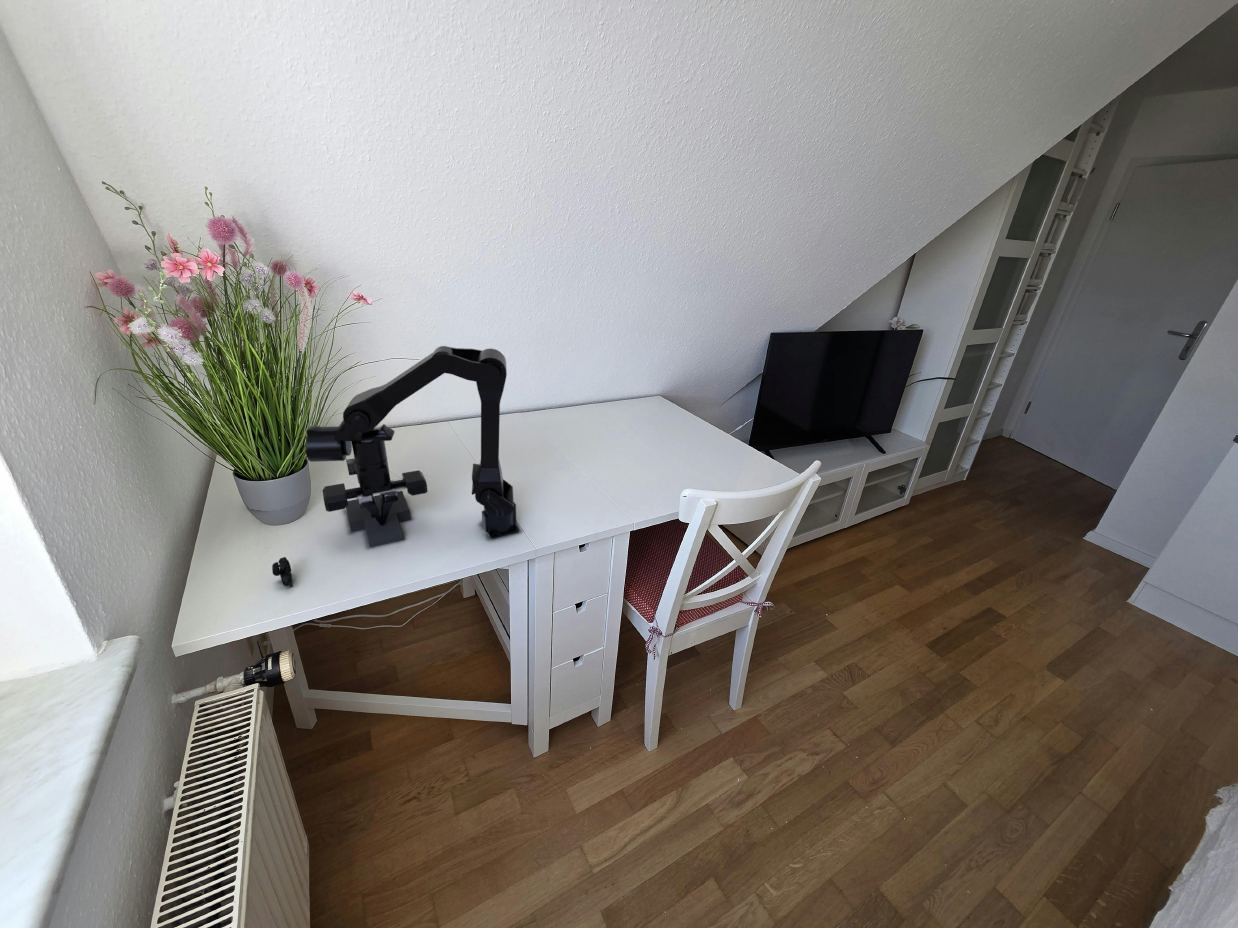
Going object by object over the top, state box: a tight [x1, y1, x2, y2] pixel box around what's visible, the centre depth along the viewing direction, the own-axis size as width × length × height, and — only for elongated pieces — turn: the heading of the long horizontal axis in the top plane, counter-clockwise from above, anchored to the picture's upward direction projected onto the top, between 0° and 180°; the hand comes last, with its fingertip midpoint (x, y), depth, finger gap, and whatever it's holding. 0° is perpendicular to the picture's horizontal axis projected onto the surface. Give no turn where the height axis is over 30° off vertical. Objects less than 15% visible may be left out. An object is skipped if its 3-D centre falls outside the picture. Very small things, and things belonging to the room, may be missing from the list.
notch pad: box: [345, 490, 411, 533], centre depth 114 cm, size 12×9×2 cm
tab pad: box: [364, 510, 404, 548], centre depth 109 cm, size 6×9×2 cm
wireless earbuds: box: [271, 556, 294, 588], centre depth 93 cm, size 7×2×5 cm, turn 32°
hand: (382, 524), depth 107 cm, fingers closed
